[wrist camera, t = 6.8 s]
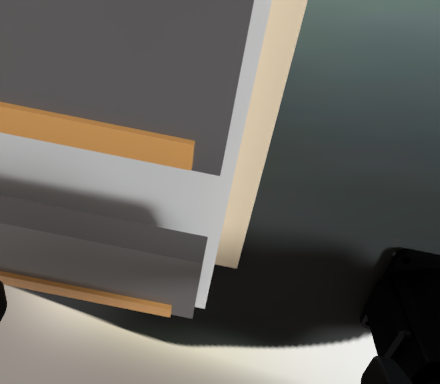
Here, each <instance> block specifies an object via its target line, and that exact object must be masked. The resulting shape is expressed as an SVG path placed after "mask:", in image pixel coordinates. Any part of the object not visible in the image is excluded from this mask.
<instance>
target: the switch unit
mask: <svg viewBox="0 0 440 384" xmlns="http://www.w3.org/2000/svg"><path fill="white" fill-rule="evenodd" d="M307 1H308V0H254V4H253V10H252V15H251V20H250V25H249V30H248V36H247V41H246V46H245V51H244V56H243V62H242V67H241V72H240V77H239V82H238V87H237V93H236V98H235V103H234V108H233V113H232V119H231V124H230V129H229V134H228V139H227V145H226V150H225V155H224V160H223V165H222V170H221V174H220V176H217V175H212V174H207V173H202V172H197V171H192V170H191V171H190V170H185V169H180V168H175V167H170V166H165V165H160V164H155V163H150V162H145V161H140V160H135V159H130V158H125V157H120V156H115V155H110V154H105V153H100V152H95V151H90V150H85V149H80V148H75V147H70V146H65V145H60V144H55V143H50V142H45V141H40V140H35V139H30V138H25V137H20V136H15V135H10V134H6V133H1V132H0V195H1V196H6V197H11V198H16V199H21V200H26V201H31V202H36V203H41V204H46V205H51V206H56V207H61V208H66V209H71V210H76V211H81V212H86V213H91V214H96V215H101V216H106V217H111V218H116V219H121V220H126V221H131V222H136V223H141V224H146V225H151V226H156V227H161V228H166V229H171V230H176V231H181V232H186V233H191V234H196V235H201V236H206V237H208V239H207V244H206V250H205V255H204V260H203V266H202V271H201V276H200V282H199V287H198V293H197V298H196V303H195V307H198V308H203V309H205V306H206V301H207V296H208V292H209V287H210V283H211V278H212V273H213V269H214V264H216V265H221V266H226V267H231V268H236V269H237V266H238V262H239V259H240V255H241V251H242V247H243V243H244V240H245V236H246V232H247V228H248V224H249V221H250V217H251V213H252V209H253V205H254V202H255V198H256V194H257V190H258V186H259V183H260V179H261V175H262V171H263V168H264V164H265V160H266V156H267V152H268V149H269V145H270V141H271V137H272V133H273V130H274V126H275V122H276V118H277V114H278V111H279V107H280V103H281V99H282V95H283V92H284V88H285V84H286V80H287V76H288V73H289V69H290V65H291V61H292V58H293V54H294V50H295V46H296V42H297V39H298V35H299V31H300V27H301V23H302V20H303V16H304V12H305V8H306V4H307Z"/></svg>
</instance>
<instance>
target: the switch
mask: <svg viewBox="0 0 440 384" xmlns="http://www.w3.org/2000/svg"><path fill="white" fill-rule="evenodd" d="M207 239H208V237H206V236H201V235H196V234H191V233H186V232H181V231H176V230H171V229H166V228H161V227H156V226H151V225H146V224H141V223H136V222H131V221H126V220H121V219H116V218H111V217H106V216H101V215H96V214H91V213H86V212H81V211H76V210H71V209H66V208H61V207H56V206H51V205H46V204H41V203H36V202H31V201H26V200H21V199H16V198H11V197H6V196H1V195H0V281H2V283H3V284H5V285H10V286H15V287H20V288H25V289H30V290H35V291H40V292H45V293H50V294H55V295H60V296H65V297H70V298H75V299H80V300H85V301H90V302H95V303H100V304H105V305H110V306H115V307H120V308H125V309H130V310H135V311H140V312H145V313H150V314H155V315H160V316H165V317H171V315H176V316H181V317H186V318H191V319H192V318H193V313H194V308H195V303H196V298H197V293H198V287H199V282H200V276H201V271H202V266H203V260H204V255H205V250H206V244H207Z"/></svg>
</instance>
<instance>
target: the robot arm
mask: <svg viewBox="0 0 440 384" xmlns="http://www.w3.org/2000/svg"><path fill="white" fill-rule="evenodd" d="M405 257H408V258H407V259H404V260H402V259H403V258H405ZM6 308H7V301H6V296H5V291H4V285H3V283H2V281H0V321H1V319H2V317H3V315H4V314H5V311H6ZM364 308H365V310H364V311H363V313H362V315H361V317H360V321H361V324H362V326H363V327H364V328H368V329H371V333H372V336H373V339H374V343H375V347H376V350H377V354H378V356H376V357H374V358H373V359H372V361H371V362H370V364H369V365H368V367H367V368H366V370H365V372H364V373H363V375H362V378H361V384H440V256H436V255H431V254H426V253H421V252H416V251H411V250H400V251H398V252H397V253H396V254H395V256H394V257H393V259H392V261H391V263H390V265H389V266H388V268H387V270H386V272H385V274H384V275H383V277H382V278H381V279H380V280H379V281H378V283H377V284H376V286H375V288H374V290H373V292H372V293H371V295H370V297H369V299H368V301H367V302H366V304H365V306H364Z"/></svg>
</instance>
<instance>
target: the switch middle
mask: <svg viewBox="0 0 440 384" xmlns="http://www.w3.org/2000/svg"><path fill="white" fill-rule="evenodd" d="M253 4H254V0H0V132H1V133H6V134H10V135H15V136H20V137H25V138H30V139H35V140H40V141H45V142H50V143H55V144H60V145H65V146H70V147H75V148H80V149H85V150H90V151H95V152H100V153H105V154H110V155H115V156H120V157H125V158H130V159H135V160H140V161H145V162H150V163H155V164H160V165H165V166H170V167H175V168H180V169H185V170H190V171H191V170H192V171H197V172H202V173H207V174H212V175H217V176H220V174H221V170H222V165H223V160H224V155H225V150H226V145H227V139H228V134H229V129H230V124H231V119H232V113H233V108H234V103H235V98H236V93H237V87H238V82H239V77H240V72H241V67H242V62H243V56H244V51H245V46H246V41H247V36H248V30H249V25H250V20H251V15H252V10H253Z"/></svg>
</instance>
